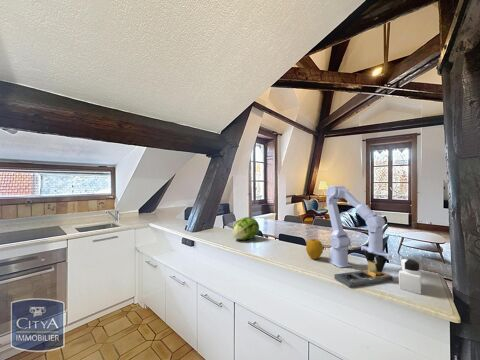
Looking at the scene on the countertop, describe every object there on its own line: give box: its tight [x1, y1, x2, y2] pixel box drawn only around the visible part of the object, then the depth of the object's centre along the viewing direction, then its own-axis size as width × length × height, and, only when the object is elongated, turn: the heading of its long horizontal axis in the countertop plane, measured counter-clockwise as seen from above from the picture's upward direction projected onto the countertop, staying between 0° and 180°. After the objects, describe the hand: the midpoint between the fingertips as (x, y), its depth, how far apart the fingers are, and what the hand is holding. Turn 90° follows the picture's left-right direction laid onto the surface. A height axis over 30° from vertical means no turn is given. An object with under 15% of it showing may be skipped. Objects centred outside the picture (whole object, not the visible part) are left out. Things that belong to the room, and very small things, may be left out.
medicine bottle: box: [398, 258, 422, 295], centre depth 89 cm, size 7×7×12 cm
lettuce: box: [232, 216, 260, 241], centre depth 167 cm, size 18×23×19 cm
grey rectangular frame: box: [333, 269, 394, 289], centre depth 97 cm, size 9×25×2 cm, turn 107°
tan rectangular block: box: [367, 259, 383, 276], centre depth 99 cm, size 4×4×7 cm
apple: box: [305, 238, 324, 260], centre depth 124 cm, size 10×10×12 cm
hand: (375, 269), depth 99 cm, fingers closed on tan rectangular block, 4 cm apart
